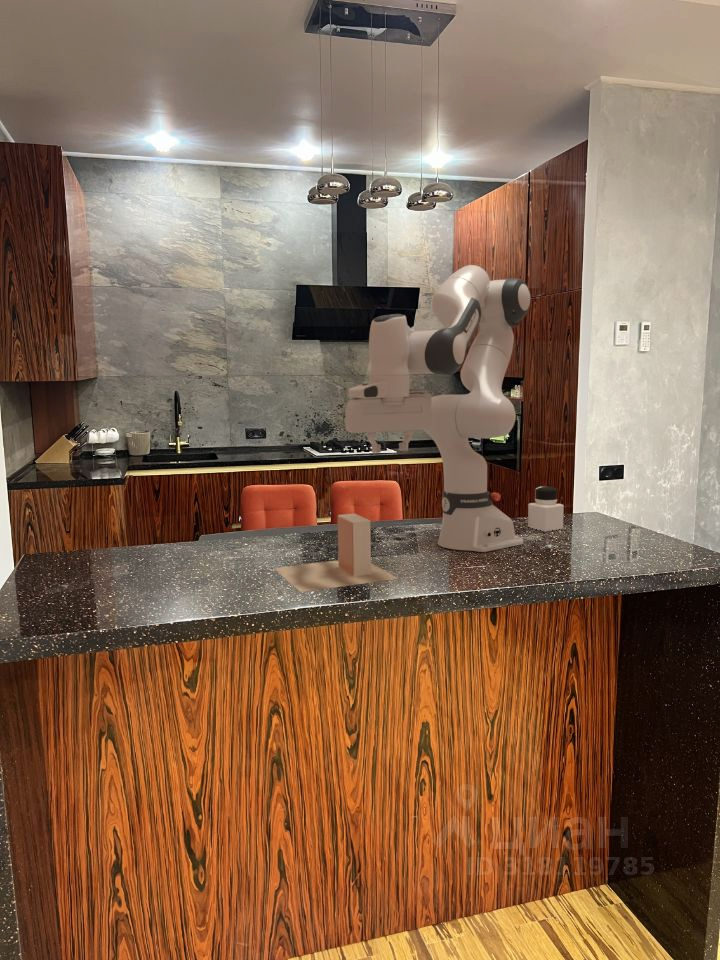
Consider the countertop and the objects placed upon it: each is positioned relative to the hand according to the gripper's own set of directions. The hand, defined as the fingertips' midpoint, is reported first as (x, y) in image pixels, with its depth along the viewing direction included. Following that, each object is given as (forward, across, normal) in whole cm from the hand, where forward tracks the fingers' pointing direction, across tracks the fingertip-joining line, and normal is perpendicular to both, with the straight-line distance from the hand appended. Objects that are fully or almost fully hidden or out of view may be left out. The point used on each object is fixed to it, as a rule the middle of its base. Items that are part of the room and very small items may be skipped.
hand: (390, 451), depth 157 cm
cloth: (+27, +14, 0) cm, 31 cm away
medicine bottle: (+27, -59, -21) cm, 68 cm away
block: (+26, +9, 0) cm, 28 cm away
